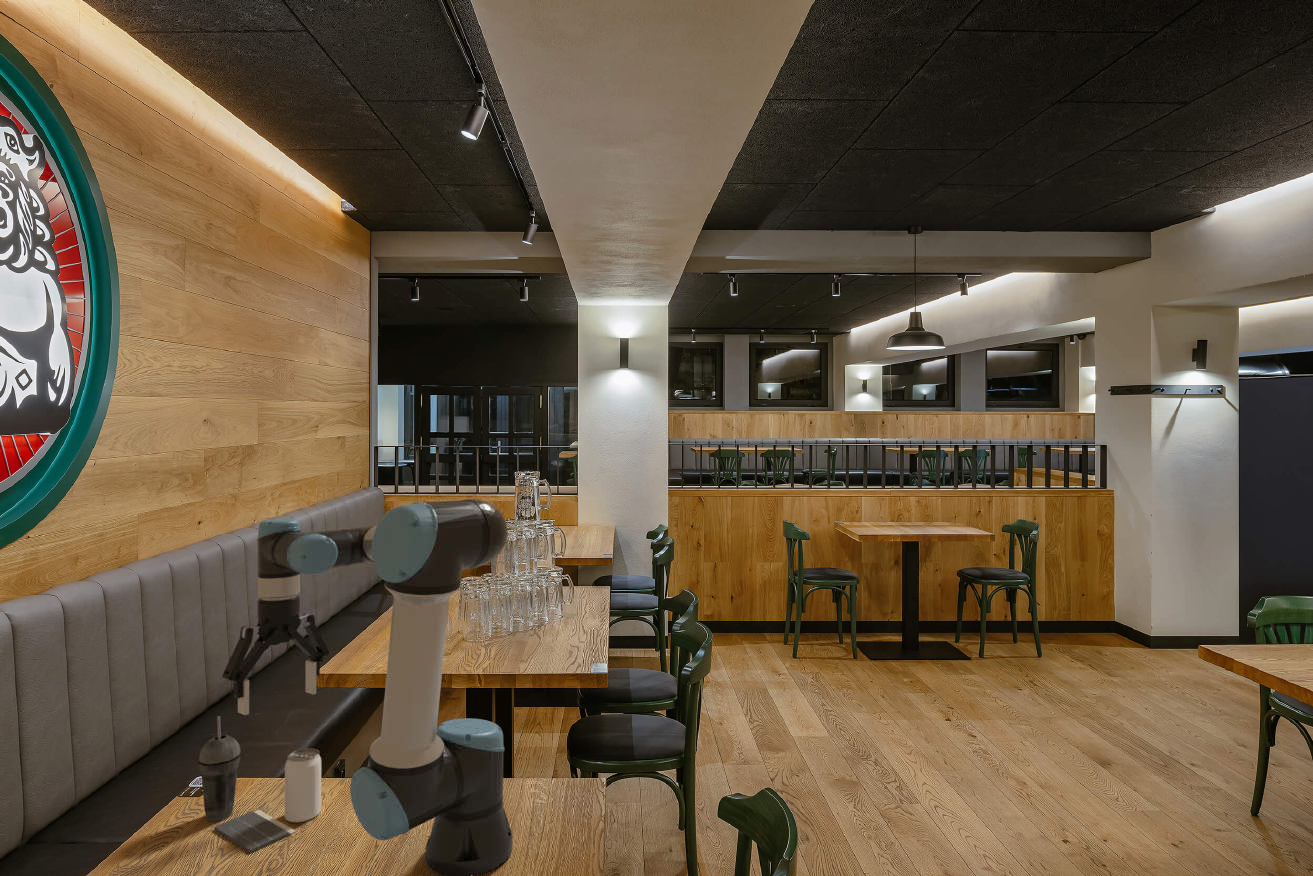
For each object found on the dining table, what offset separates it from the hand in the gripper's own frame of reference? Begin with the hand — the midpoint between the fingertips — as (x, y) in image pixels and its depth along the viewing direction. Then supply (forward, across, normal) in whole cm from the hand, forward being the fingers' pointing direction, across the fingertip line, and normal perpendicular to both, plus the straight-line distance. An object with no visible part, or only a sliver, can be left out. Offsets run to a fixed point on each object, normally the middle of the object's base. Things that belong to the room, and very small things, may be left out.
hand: (278, 702), depth 144 cm
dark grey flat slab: (+21, +6, +4) cm, 23 cm away
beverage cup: (+22, +8, -7) cm, 24 cm away
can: (+22, -2, +6) cm, 23 cm away
